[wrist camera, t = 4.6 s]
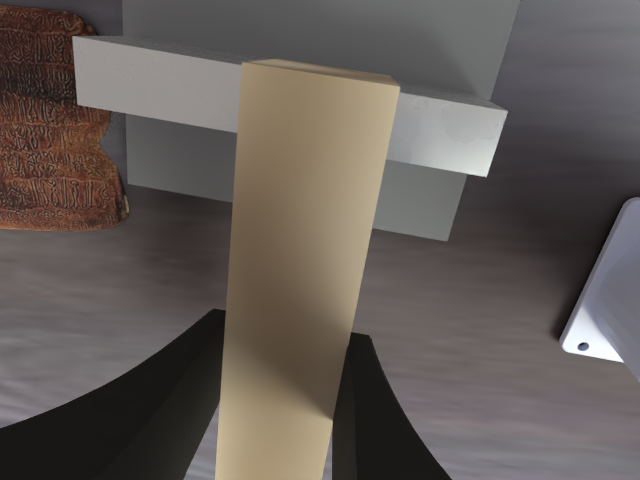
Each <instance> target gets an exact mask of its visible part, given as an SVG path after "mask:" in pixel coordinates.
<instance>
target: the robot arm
mask: <svg viewBox="0 0 640 480" xmlns="http://www.w3.org/2000/svg"><path fill="white" fill-rule="evenodd" d="M225 317H226V311H225V310H219V309H212V310H211V311H210V312H208V313H207V314H206V315H205V316H203V317H202V318H201V319H200V320H199V321H197V322H196V323H195V324H194V325H192V326H191V327H190V328H189V329H187V330H186V331H185V332H184V333H182V334H181V335H180V336H179V337H177V338H176V339H175V340H173V341H172V342H171V343H169V344H168V345H167V346H165V347H164V348H163V349H161V350H160V351H158V352H157V353H155V354H154V355H153V356H151V357H150V358H148V359H147V360H145V361H144V362H142V363H141V364H139V365H138V366H136V367H135V368H133V369H131V370H130V371H128V372H127V373H125V374H123V375H122V376H120V377H118V378H116V379H114V380H113V381H111V382H109V383H107V384H105V385H103V386H102V387H100V388H98V389H95V390H93V391H91V392H89V393H87V394H85V395H83V396H81V397H79V398H76V399H74V400H72V401H70V402H68V403H66V404H64V405H61V406H59V407H56V408H54V409H52V410H49V411H47V412H44V413H42V414H39V415H37V416H34V417H31V418H29V419H26V420H23V421H21V422H18V423H15V424H12V425H9V426H6V427H3V428H0V480H183V479H184V477H185V474H186V472H187V470H188V467H189V465H190V463H191V461H192V459H193V457H194V455H195V453H196V450H197V448H198V446H199V444H200V442H201V440H202V438H203V436H204V434H205V431H206V429H207V427H208V425H209V423H210V421H211V419H212V417H213V414H214V412H215V410H216V408H217V406H218V404H219V401H220V394H221V379H222V363H223V348H224V332H225ZM582 342H585V344H584V345H581V346H578V345H579V344H580V343H582ZM559 343H560V345H561V347H562V349H564V350H565V351H567V352H570V353H575V354H581V355H586V356H591V357H597V358H602V359H608V360H613V361H618V362H624V363H625V364H626V365H627V367H628V368H629V369H630V371H631V372H632V373H633V374H634V376H635V377H636V378H637V380H638V381H639V382H640V197H634V198H631V199H629V200H628V201H626V202H625V203H624V205H623V206H622V208H621V210H620V212H619V214H618V216H617V219H616V221H615V223H614V225H613V227H612V229H611V231H610V233H609V236H608V238H607V240H606V242H605V244H604V246H603V248H602V250H601V252H600V255H599V257H598V259H597V261H596V263H595V265H594V267H593V269H592V271H591V274H590V276H589V278H588V280H587V282H586V284H585V286H584V288H583V291H582V293H581V295H580V297H579V299H578V301H577V303H576V305H575V307H574V310H573V312H572V314H571V316H570V318H569V320H568V322H567V324H566V327H565V329H564V331H563V333H562V335H561V337H560V340H559ZM332 480H452V479H451V478H450V477H449V475H448V474H447V473H446V472H445V471H444V469H443V468H442V467H441V466H440V465H439V463H438V462H437V461H436V460H435V458H434V457H433V456H432V454H431V453H430V451H429V450H428V449H427V447H426V446H425V445H424V443H423V442H422V440H421V439H420V437H419V436H418V434H417V433H416V431H415V430H414V428H413V427H412V425H411V423H410V422H409V420H408V418H407V417H406V415H405V413H404V411H403V410H402V408H401V406H400V404H399V403H398V401H397V399H396V397H395V395H394V393H393V391H392V389H391V387H390V385H389V383H388V381H387V378H386V376H385V374H384V372H383V370H382V367H381V365H380V362H379V360H378V357H377V355H376V352H375V349H374V346H373V343H372V339H371V338H370V336H369V335H365V334H359V333H353V332H351V335H350V340H349V345H348V346H347V350H346V355H345V360H344V365H343V370H342V375H341V380H340V386H339V391H338V396H337V401H336V406H335V411H334V416H333V433H332Z"/></svg>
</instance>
